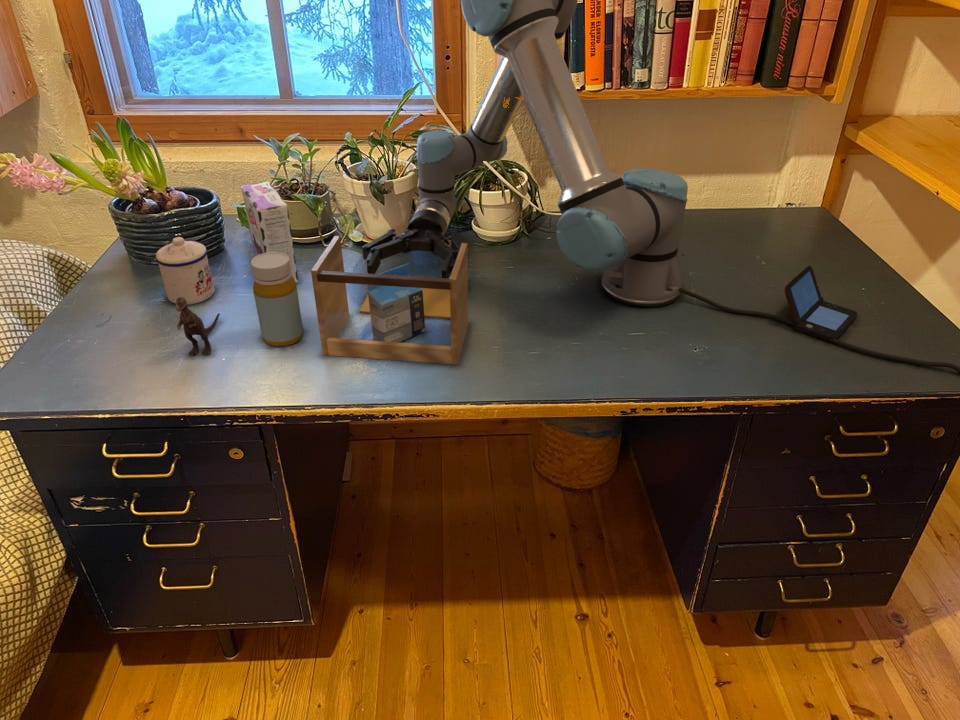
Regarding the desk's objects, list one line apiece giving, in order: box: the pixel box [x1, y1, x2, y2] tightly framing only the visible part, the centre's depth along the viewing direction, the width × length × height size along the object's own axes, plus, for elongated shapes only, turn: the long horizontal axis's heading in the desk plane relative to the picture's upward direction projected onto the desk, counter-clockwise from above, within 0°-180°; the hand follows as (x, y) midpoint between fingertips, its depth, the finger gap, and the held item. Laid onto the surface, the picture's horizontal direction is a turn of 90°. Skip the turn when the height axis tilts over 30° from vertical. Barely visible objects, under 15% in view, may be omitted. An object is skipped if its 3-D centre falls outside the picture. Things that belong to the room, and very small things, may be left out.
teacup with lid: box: [155, 236, 215, 306], centre depth 140 cm, size 12×9×12 cm
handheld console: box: [783, 265, 858, 342], centre depth 132 cm, size 12×11×7 cm
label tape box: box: [367, 262, 426, 343], centre depth 126 cm, size 9×4×12 cm, turn 131°
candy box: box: [240, 180, 299, 284], centre depth 145 cm, size 14×6×16 cm, turn 27°
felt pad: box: [359, 288, 451, 320], centre depth 140 cm, size 18×12×1 cm, turn 83°
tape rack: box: [310, 235, 469, 366], centre depth 124 cm, size 23×13×16 cm, turn 83°
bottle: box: [250, 252, 304, 348], centre depth 125 cm, size 7×7×15 cm
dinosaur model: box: [175, 297, 221, 357], centre depth 125 cm, size 4×12×15 cm
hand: (406, 275), depth 133 cm, fingers open, 13 cm apart
